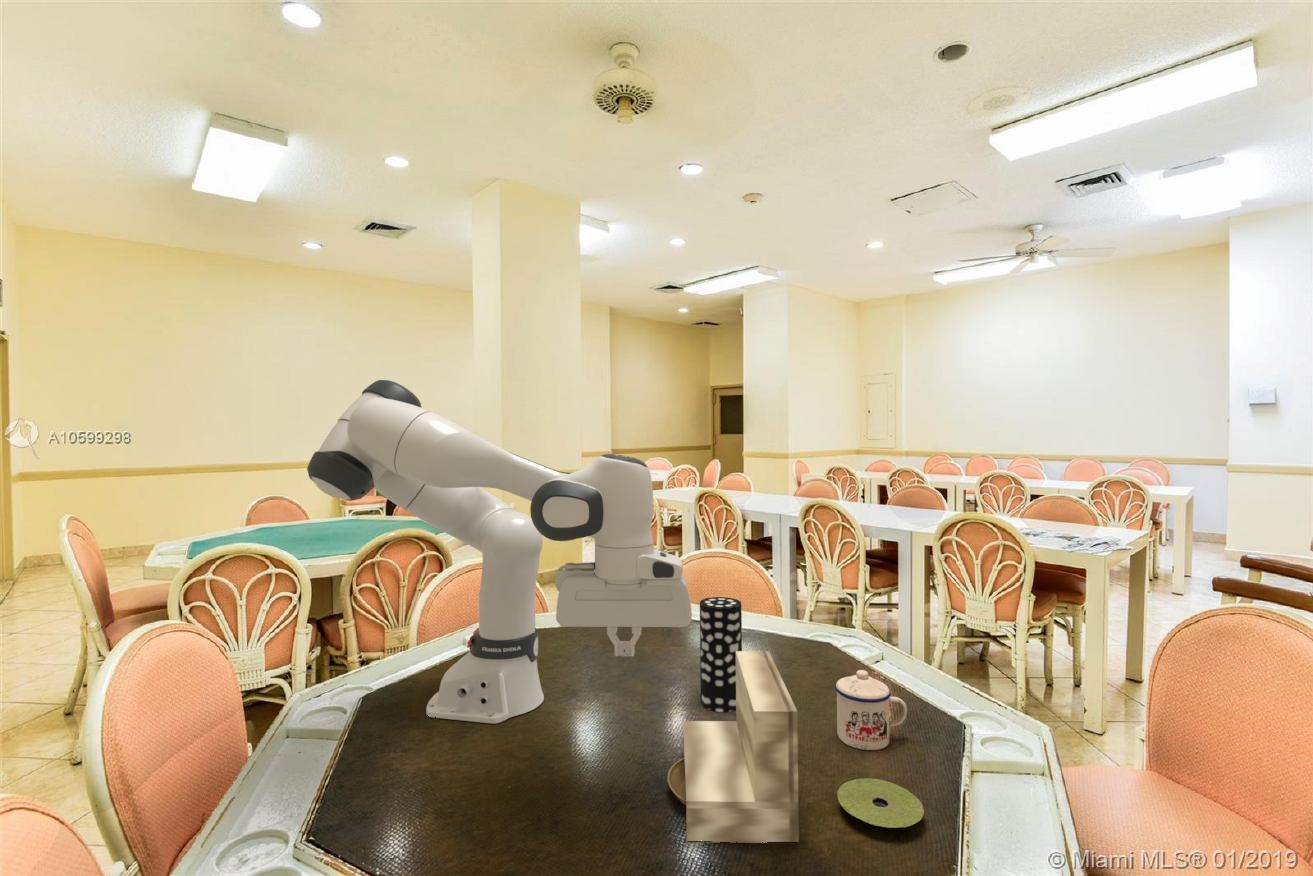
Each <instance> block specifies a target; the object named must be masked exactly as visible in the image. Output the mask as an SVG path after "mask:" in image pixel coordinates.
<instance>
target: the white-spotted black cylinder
mask: <svg viewBox="0 0 1313 876" xmlns="http://www.w3.org/2000/svg"><path fill="white" fill-rule="evenodd" d="M742 605H743V604H742V601H740V600H739V599H737V598H732V597H726V596H725V597H724V596H713V597H706V598H703V599H701V600H699V646H700V647H699V649H700V651H699V652H700V653H699V656H700V657H699V661H700V662H699V663H700V665H699V666H700V668H699V669H700V671H699V673H700V676H699V678H700V705H701V706H702V707H703V708H705V709H706V710H708V711H712V712H717V713H730V712H736V651H743V638H742V637H743V633H742V630H743V629H742V628H743V626H742V624H743V621H742V619H743V616H742V614H743V613H742Z"/></svg>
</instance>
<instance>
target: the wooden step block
mask: <svg viewBox="0 0 1313 876" xmlns="http://www.w3.org/2000/svg"><path fill="white" fill-rule="evenodd" d="M770 652H771V651H769V650H750V651H749V650H745V651H744V650H742V651H736V710H735V714H736V715H735V718H736V719H735V720H734V721H733V720H727V721H726V720H719V721H718V720H683V721H682V730H683V731H682V736H683V737H682V738H683V739H682V744H683V746H682V747H683V748H682V749H683V750H682V751H683V758H684V759H685V783H686V805H685V807H686V808H685V809H686V810H685V811H686V813H685V814H686V818H685V819H686V841H687V840H689V841H701V840H702V841H713V842H712V843H720V842H730V843H733V844H735V843H736V842H737V843H740V844H742V843H743V844H744V843H746V844H768V843H767V842H799V843H800V831H799V829H800V827H799V826H800V823H799V821H800V820H799V747H798V746H799V745H798V744H799V735H798V733H799V732H798V724H799V723H798V710H797V707H796V705H795V704H794V701H793V699H792V697H791V694H790V693H789V691H788V689H787V686H786V684H785V682H784V680H783V678H782V675H781V673H780V672H779V669H778V668H777V667H778V666H777V665H776V663H775V661H774V659H773V656H772V655H771V653H770ZM762 842H763V843H762ZM737 843H736V844H737Z"/></svg>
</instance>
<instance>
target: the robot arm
mask: <svg viewBox="0 0 1313 876" xmlns="http://www.w3.org/2000/svg"><path fill="white" fill-rule="evenodd" d="M306 471H307V474H308V477H309V479H310V480H311V481H312V482H313V483H314V484H315V486H316V487H317V488H318V489H319V490H321V492H323V494H326V495H328V496H330V497H331V498H335V499H341V500H346V501H349V502H351V501H356V500H361V499H362V498H364V497H365V496H366V495H368V493H370V492H371V491H372V490H373V489H374V490H375V491H376V492H378V493H379V494H380V495H381V496H383V497H384V498H386V499H387V500H389V501H390V502H392V504H395V505H396V506H398V507H399V508H401V509H403V510H404V511H406V512H407V513H410V514H411V515H413V516H415V517H416V518H418V519H420V520H422V521H423V522H424V523H427V524H428V525H430V526H432V527H434V528H435V529H438V530H439V531H441V532H442V533H444V534H447V535H449V536H451V537H453V538H454V539H457V540H459V541H461V542H463V543H464V544H466V545H468V546H470V547H472V548H474V549H475V550H477V551H478V552H481V554H482V564H481V565H482V566H481V567H482V568H481V577H480V588H479V592H478V627H477V628H476V629H475V630H474V631H473V632H472V635H471V636H469V639H468V641H467V642H466V643H467V646H466V648H468V649H469V652H467V653H466V654H465V655H463V657H461V658H460V659H458V661H456V662H455V663H454V664H452V665H451V667H449V668H448V669H447V671H446V672H445V673H444V675H443V677H442V678H441V681H440V684H439V690H438V691H437V692H436V693H434V694H433V696H432V697H431V698H430V699H429V701H428V703H427V704H426V707H425V708H426V709H425V710H426V711H425V714H426V716H427V715H428V716H429V717H428V716H427V717H428V718H435V717H436V719H445V720H446V719H447V720H455V721H463V722H464V721H465V722H475V723H483V724H499V723H502V722H504V721H506V720H507V719H510V718H512V717H516V716H519V715H523V714H526V713H528V712H531V711H533V710H535V709H536V708H538V707H539V706H540V705H542V703H543V702H544V700H545V695H544V692H543V689H542V685H541V680H540V676H539V675H540V674H539V670H538V668H539V667H538V660H537V658H538V654H539V636H538V628H537V627H536V588H537V579H538V573H539V568H540V558H541V557H540V556H541V552H542V549H543V543H544V539H543V537H545V538H546V539H548V540H551V541H555V542H556V541H557V542H571V541H574V540H577V539H583V538H587V537H591V538H593V540H594V562H592V561H591V562H578V563H577V562H576V563H575V562H566V563H565V564H564V565H561V566H560V567H558V568H557V570H556V571H555V575H554V576H555V577H554V578H555V580H554V581H555V582H554V584H555V585H554V586H555V588H556V590H557V591H558V595H557V601H556V610H555V611H556V613H555V614H556V615H555V618H556V619H555V620H556V622H557V623H558V624H559V626H560V627H564V628H568V627H569V628H570V627H571V628H572V627H573V628H574V627H577V628H578V627H580V628H583V627H584V628H585V627H590V628H591V627H592V628H594V627H598V628H599V627H600V628H601V627H602V628H603V627H604V628H606V634H607V636H608V638H609V639H610V641H611V643H612V644H613V646H614V657H635V649H636V648H635V647H636V646H635V645H636V643H637V642H638V640H639V639H640V637H641V635H642V629H643V628H644V627H645V628H648V627H650V628H651V627H653V628H654V627H655V628H659V627H660V628H663V627H664V628H684V627H685V628H686V627H688V626H689V625H690V624H691V622H692V621H693V618H692V617H693V616H692V613H693V612H692V605H691V604H692V602H691V595H690V591H689V586H688V582H687V579H686V578H685V575H684V574H683V572H684V564H683V560H682V559H681V557H680V556H677V555H675V554H674V555H673V554H671V553H667V552H664V551H661V550H658V549H655V548H654V537H653V534H652V520H653V518H654V517H653V516H654V492H653V480H652V475H651V471H650V468H649V466H648V465H647V464H646V463H645V462H644V461H643V460H641V459H639V458H636V457H632V456H627V455H621V454H613V453H605V454H602V455H600V456H599V457H597V459H595V460H594V461H593V462H591V463H589V464H588V465H586V466H584V467H581V468H580V469H578V470H576V471H573V472H566V471H565V472H564V471H561V470H556V469H554V468H551V467H548V466H546V465H543V464H541V463H538V462H535V461H534V460H533V461H532V460H530V459H527V458H525V457H522V456H520V455H518V454H515V453H512V452H510V451H507V450H505V449H503V448H502V447H499V446H497V445H496V444H494V443H493V442H490V441H489V440H487V439H485V438H484V437H482V436H480V435H478V434H476V433H474V432H473V431H471V430H469V429H467V428H465V427H463V426H462V425H460V424H458V423H456V422H454V421H453V420H451V419H449V418H446V417H445V416H443V415H441V414H439V413H436V412H434V411H431V410H428V409H426V408H423V407H422V403H421V401H420V399H419V397H417V395H415V394H414V393H413V392H412V391H411V390H409V388H407V387H405V386H403V385H401V384H400V383H398V382H395V381H393V380H390V379H389V380H388V379H378V380H376V381H374V382H373V383H371V384H369V385H368V386H367V387H366V388H365V389H363V390H362V391H361V395H360V396H358V398H357V399H355V401H354V402H353V403H352V404H351V405H349V406H348V408H347V409H346V410H345V411H344V412H343V413H342V414H341V416H340V417H339V418H338V419H337V422H336V424H334V426H333V427H332V429H331V430H330V432H329V433H328V434H327V436H326V438H325V439H324V440H323V443H321V446H319V449H318V451H315V452H313V455H312V456H311V459H310V460H309V462H308V465H307V467H306ZM486 488H489V489H497V490H500V491H504V492H507V493H509V494H512V495H514V496H517V497H520V498H522V499H525V500H528V501H530V506H529V507H530V508H529V509H530V510H529V511H530V512H529V513H530V515H529V514H527V513H525V512H522V511H520V510H518V509H516V508H514V507H513V506H511V505H510V504H508V503H506V502H505V501H503V500H502V499H500V498H499V497H497V496H496V495H493V494H492V493H490V492H489V491H488V490H487V489H486ZM623 627H624V628H625V627H627V628H628V627H631V634H633V635H632V637H631V639H630V640H620V639H619V636H618V635H617V631H618V628H623Z"/></svg>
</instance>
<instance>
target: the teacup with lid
mask: <svg viewBox="0 0 1313 876" xmlns="http://www.w3.org/2000/svg"><path fill="white" fill-rule="evenodd" d="M835 690H836V724H837V725H836V729H837V730H836V732H837V737H838V739H839V740H840V741H841V742H843V744H846V745H847V746H849V747H852V748H854V749H859V750H864V751H877V750H882V749H885V748H886V747H888V746H889V744H890V741H891V740H890V728H892V727H898V726H901V724H903V723H904V721H905V720H906V719H907V715H908V708H907V704H906V703H905V701H904V700H902V699H901V698H899V697H897V696H891V691H890V689H889V687H888V686H887V684H886V683H884V682H882V681H880V680H877V679H876V678H874V677H872V676H870V675H869V672H868V671H867V670H865V669H859V670H857V671H856V674H852V675H851V676H844V677H842V678H840V679H839V680H837V682H836V685H835ZM890 703H896V704H899V705H900V706H901V712H900V714H899V716H898V717H897V718H896V719H893V720H890Z"/></svg>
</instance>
